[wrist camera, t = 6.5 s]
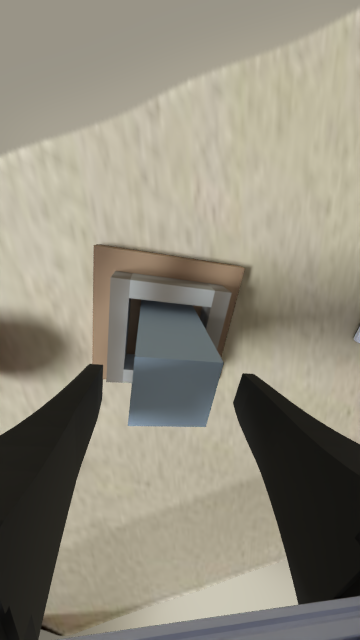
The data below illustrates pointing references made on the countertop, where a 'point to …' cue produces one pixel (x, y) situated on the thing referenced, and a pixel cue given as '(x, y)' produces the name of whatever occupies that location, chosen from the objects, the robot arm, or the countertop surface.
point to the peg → (172, 368)
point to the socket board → (156, 285)
